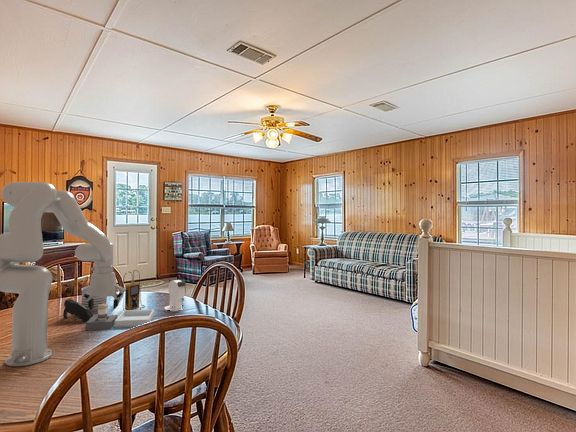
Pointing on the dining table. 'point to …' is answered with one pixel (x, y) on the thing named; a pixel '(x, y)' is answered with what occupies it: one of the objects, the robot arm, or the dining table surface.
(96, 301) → the can
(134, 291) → the multimeter
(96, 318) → the grey flat square block
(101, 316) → the cylinder
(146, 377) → the dining table surface
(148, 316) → the parts tray
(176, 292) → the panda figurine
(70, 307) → the gun
